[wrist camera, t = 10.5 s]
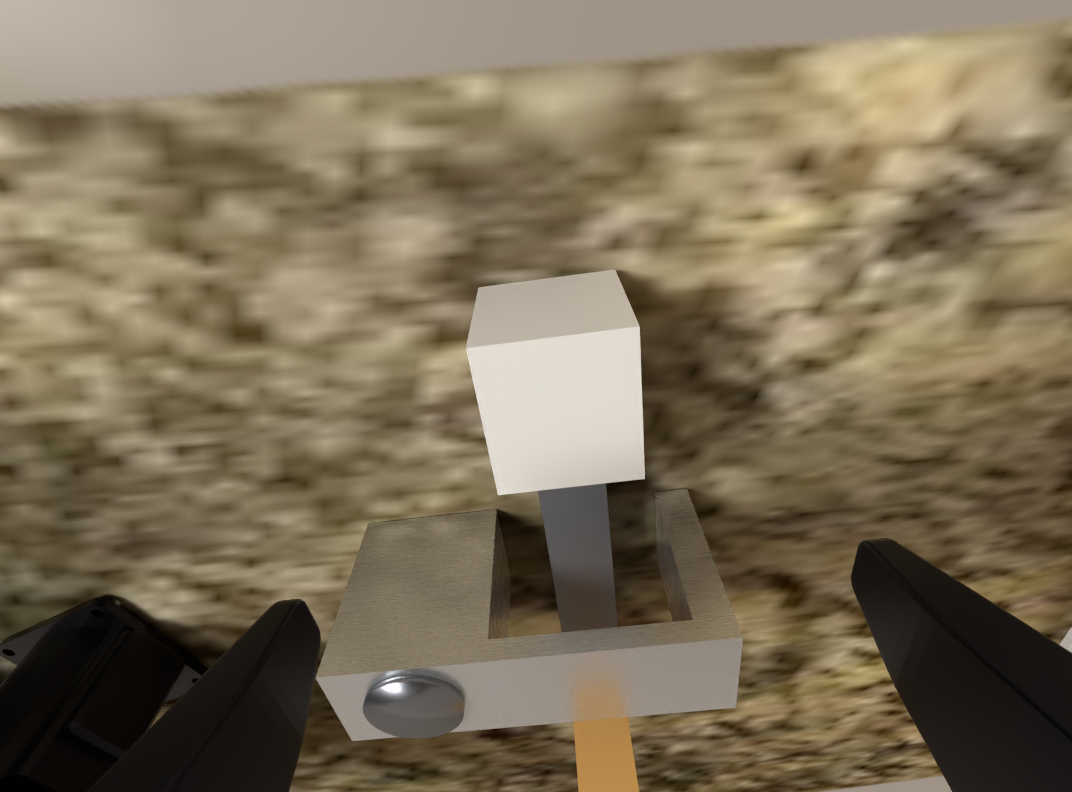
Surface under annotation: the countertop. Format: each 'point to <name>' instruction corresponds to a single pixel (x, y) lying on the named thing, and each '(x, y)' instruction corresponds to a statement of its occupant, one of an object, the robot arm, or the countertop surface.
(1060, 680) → the robot arm
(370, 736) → the housing
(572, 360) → the multicoloured u-shaped piece
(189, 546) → the countertop surface
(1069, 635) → the cup
